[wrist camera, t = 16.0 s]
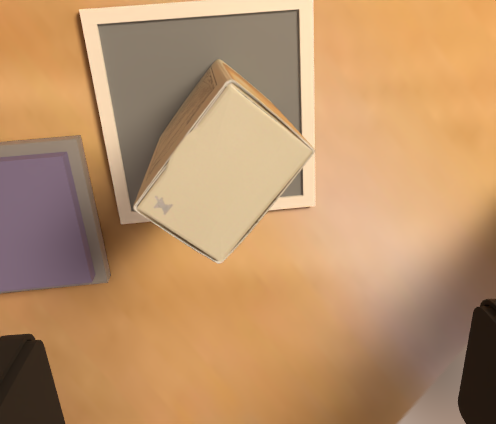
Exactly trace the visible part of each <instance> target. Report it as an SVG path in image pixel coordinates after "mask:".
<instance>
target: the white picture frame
mask: <svg viewBox="0 0 496 424" xmlns="http://www.w3.org/2000/svg"><path fill="white" fill-rule="evenodd" d="M79 12H80V18H81V23H82V28H83V33H84V38H85V43H86V48H87V53H88V58H89V64H90V69H91V74H92V79H93V84H94V89H95V94H96V99H97V105H98V110H99V115H100V120H101V125H102V130H103V135H104V140H105V145H106V151H107V156H108V161H109V166H110V171H111V176H112V181H113V186H114V192H115V197H116V202H117V207H118V212H119V217H120V222H121V224H130V223H141V222H151V221H149V220H148V219H147V218H145V217H144V216H142V215H141V214H139V213H138V212H136V211H135V210H134V209H133V205H134V203H135V200H136V198H137V195H138V192H139V190H140V187H141V185H142V182H143V180H144V177H145V174H146V172H147V169H148V167H149V164H150V162H151V159H152V156H153V154H154V151H155V149H156V146H157V143H158V141H159V138H160V136H161V135H162V133H163V132H164V130H165V129H166V127H167V126H168V124H169V123H170V121H171V120H172V118H173V117H174V115H175V114H176V113H177V111H178V110H179V108H180V107H181V106H182V104H183V103H184V101H185V100H186V99H187V97H188V96H189V94H190V93H191V92H192V90H193V89H194V88H195V86H196V85H197V84H198V82H199V81H200V80H201V78H202V77H203V76H204V74H205V73H206V72H207V70H208V69H209V68H210V67H211V65H212V64H213V63H214V62H215V61H216V60H217V59H220V60H222V61H223V62H225V63H226V64H227V65H228V66H230V67H231V68H232V69H233V70H235V71H236V72H237V73H238V74H240V75H241V76H242V77H243V78H244V79H245V80H247V81H248V82H249V83H250V84H251V85H253V86H254V87H255V88H256V89H257V90H258V91H259V92H261V93H262V94H263V95H264V96H265V97H266V98H267V99H269V100H270V101H271V102H272V103H273V104H274V106H275V107H276V108H277V109H278V110H279V111H280V112H281V113H282V114H283V115H284V116H285V117H286V118H287V120H288V121H289V122H290V123H291V124H292V125H293V126H294V127H295V128H296V129H297V130H298V131H299V132H300V134H301V135H302V136H303V137H304V138H305V139H306V140H307V141H308V142H309V143H310V144H311V145H312V146H313V147H314V149H315V113H314V19H313V0H204V1H190V2H176V3H162V4H148V5H135V6H121V7H107V8H93V9H79ZM310 206H315V153H314V154H313V155H312V157H311V158H310V159H309V160H308V162H307V163H306V164H305V166H304V167H303V168H302V170H301V171H300V172H299V173H298V174H297V176H296V177H295V178H294V180H293V181H292V182H291V184H290V185H289V186H288V187H287V188H286V190H285V191H284V192H283V193H282V195H281V196H280V197H279V198H278V200H277V201H276V202H275V203H274V205H273V206H272V207H271V208H270V209H269V210H278V209H289V208H299V207H310Z"/></svg>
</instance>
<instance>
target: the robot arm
mask: <svg viewBox="0 0 496 424" xmlns="http://www.w3.org/2000/svg"><path fill="white" fill-rule="evenodd" d="M458 406H459V410H460V413H461V416H462V418H463V419H464V421H465V423H466V424H496V299H486V300H484V301H482V303H481V305H480V307H476V308H475V309H474V312H473V317H472V323H471V328H470V334H469V340H468V345H467V351H466V357H465V362H464V368H463V375H462V380H461V386H460V392H459V397H458ZM0 424H65V421H64V417H63V413H62V410H61V406H60V402H59V399H58V395H57V391H56V388H55V384H54V380H53V377H52V373H51V369H50V366H49V362H48V358H47V355H46V351H45V347H44V344H43V342H42V341H41V340H35V338H34V336H33V335H32V334H20V335H7V336H2V337H0Z"/></svg>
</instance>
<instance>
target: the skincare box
mask: <svg viewBox="0 0 496 424" xmlns="http://www.w3.org/2000/svg"><path fill="white" fill-rule="evenodd" d="M314 153H315V149H314V147H313V146H312V145H311V144H310V143H309V142H308V141H307V140H306V139H305V138H304V137H303V136H302V135H301V134H300V132H299V131H298V130H297V129H296V128H295V127H294V126H293V125H292V124H291V123H290V122H289V121H288V120H287V118H286V117H285V116H284V115H283V114H282V113H281V112H280V111H279V110H278V109H277V108H276V107H275V106H274V104H273V103H272V102H271V101H270V100H269V99H267V98H266V97H265V96H264V95H263V94H262V93H261V92H259V91H258V90H257V89H256V88H255V87H254V86H253V85H251V84H250V83H249V82H248V81H247V80H245V79H244V78H243V77H242V76H241V75H240V74H238V73H237V72H236V71H235V70H233V69H232V68H231V67H230V66H228V65H227V64H226V63H225V62H223V61H222V60H220V59H217V60H216V61H215V62H214V63H213V64H212V65H211V67H210V68H209V69H208V70H207V72H206V73H205V74H204V76H203V77H202V78H201V80H200V81H199V82H198V84H197V85H196V86H195V88H194V89H193V90H192V92H191V93H190V94H189V96H188V97H187V99H186V100H185V101H184V103H183V104H182V106H181V107H180V108H179V110H178V111H177V113H176V114H175V115H174V117H173V118H172V120H171V121H170V123H169V124H168V126H167V127H166V129H165V130H164V132H163V133H162V135H161V136H160V138H159V141H158V143H157V146H156V149H155V151H154V154H153V156H152V159H151V162H150V164H149V167H148V169H147V172H146V174H145V177H144V180H143V182H142V185H141V187H140V190H139V192H138V195H137V198H136V200H135V203H134V205H133V209H134V210H135V211H136V212H138V213H139V214H141V215H142V216H144V217H145V218H147V219H148V220H149V221H151V222H152V223H154V224H155V225H157V226H159V227H160V228H161V229H163V230H164V231H166V232H167V233H169V234H170V235H172V236H174V237H175V238H177V239H178V240H180V241H181V242H183V243H184V244H186V245H187V246H189V247H190V248H192V249H194V250H195V251H197V252H199V253H200V254H202V255H204V256H206V257H207V258H209V259H211V260H212V261H214V262H216V263H218V264H220V263H222V262H223V261H224V260H225V259H226V258H227V257H228V256H229V255H230V254H231V253H232V252H233V251H234V250H235V249H236V248H237V247H238V246H239V244H240V243H241V242H242V241H243V240H244V239H245V238H246V237H247V235H248V234H249V233H250V232H251V231H252V230H253V228H254V227H255V226H256V225H257V224H258V223H259V221H260V220H261V219H262V218H263V217H264V215H265V214H266V213H267V212H268V211H269V209H270V208H271V207H272V206H273V205H274V203H275V202H276V201H277V200H278V198H279V197H280V196H281V195H282V193H283V192H284V191H285V190H286V188H287V187H288V186H289V185H290V184H291V182H292V181H293V180H294V178H295V177H296V176H297V174H298V173H299V172H300V171H301V170H302V168H303V167H304V166H305V164H306V163H307V162H308V160H309V159H310V158H311V157H312V155H313V154H314Z"/></svg>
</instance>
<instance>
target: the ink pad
mask: <svg viewBox="0 0 496 424" xmlns="http://www.w3.org/2000/svg"><path fill="white" fill-rule="evenodd" d="M110 276H111V274H110V269H109V265H108V260H107V255H106V251H105V246H104V242H103V237H102V232H101V228H100V223H99V218H98V214H97V209H96V204H95V200H94V195H93V190H92V186H91V181H90V177H89V172H88V167H87V163H86V158H85V153H84V149H83V144H82V139H81V135H77V136H65V137H54V138H42V139H30V140H18V141H7V142H0V293H9V292H19V291H29V290H39V289H49V288H59V287H69V286H79V285H89V284H99V283H108V281H109V278H110Z"/></svg>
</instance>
